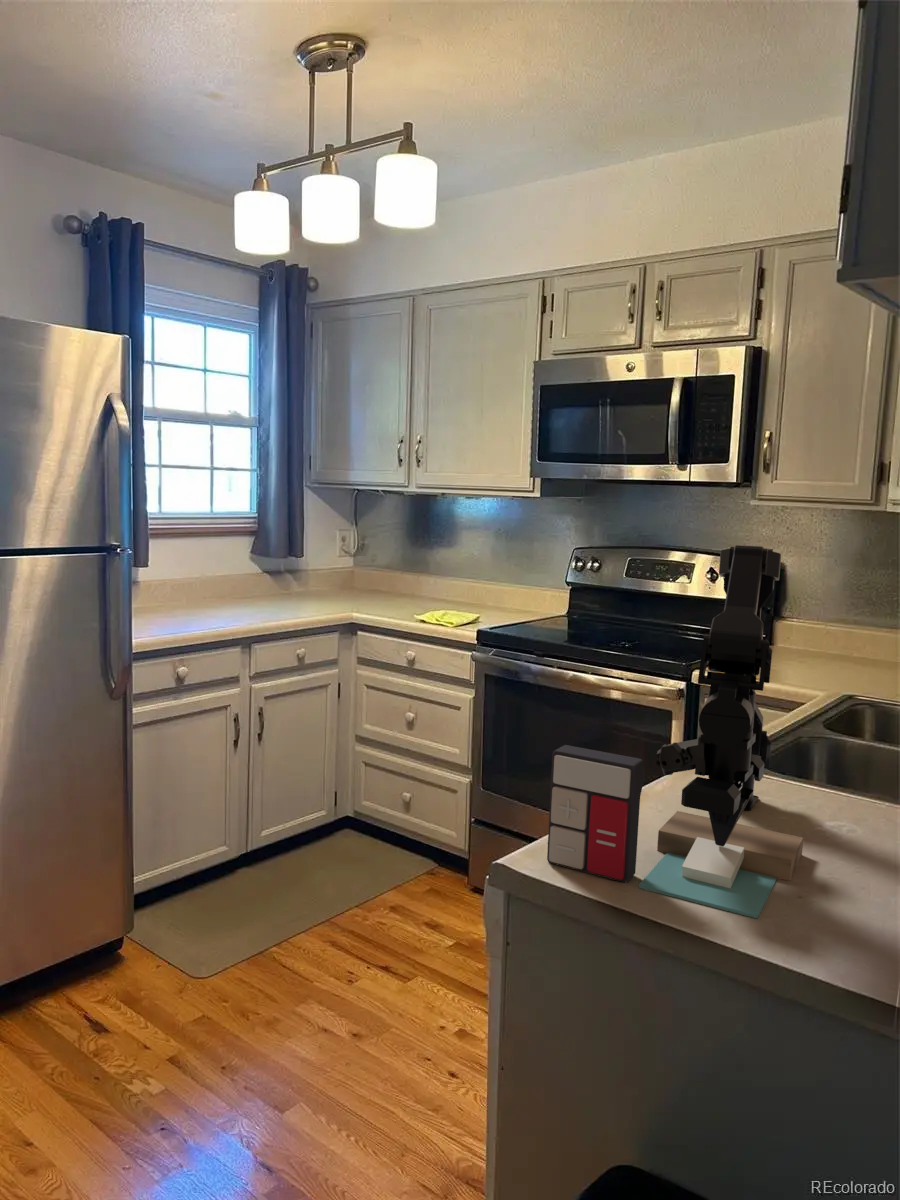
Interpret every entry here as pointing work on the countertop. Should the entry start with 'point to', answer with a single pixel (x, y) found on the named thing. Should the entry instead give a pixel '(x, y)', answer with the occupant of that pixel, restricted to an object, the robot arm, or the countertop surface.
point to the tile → (713, 862)
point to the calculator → (594, 812)
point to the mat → (710, 887)
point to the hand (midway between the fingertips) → (720, 844)
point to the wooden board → (760, 846)
